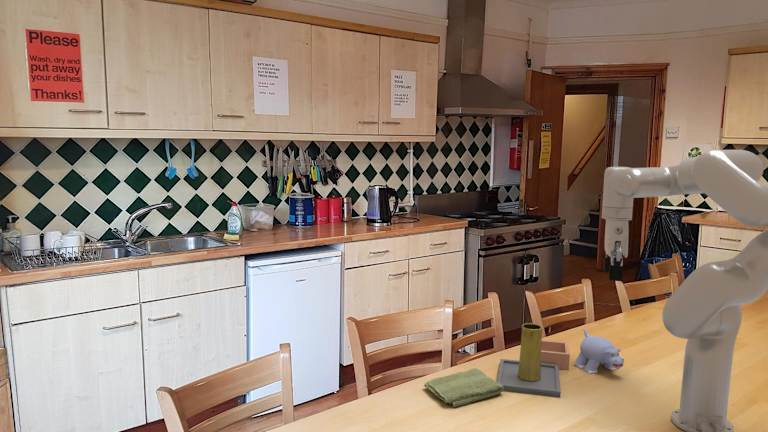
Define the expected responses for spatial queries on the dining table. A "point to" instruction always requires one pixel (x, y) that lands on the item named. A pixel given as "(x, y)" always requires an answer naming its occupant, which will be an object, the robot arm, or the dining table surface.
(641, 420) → the dining table surface
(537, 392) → the tray
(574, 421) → the dining table surface
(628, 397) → the dining table surface
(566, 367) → the pink square frame
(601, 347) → the hippopotamus toy
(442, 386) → the washcloth
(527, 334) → the vase
